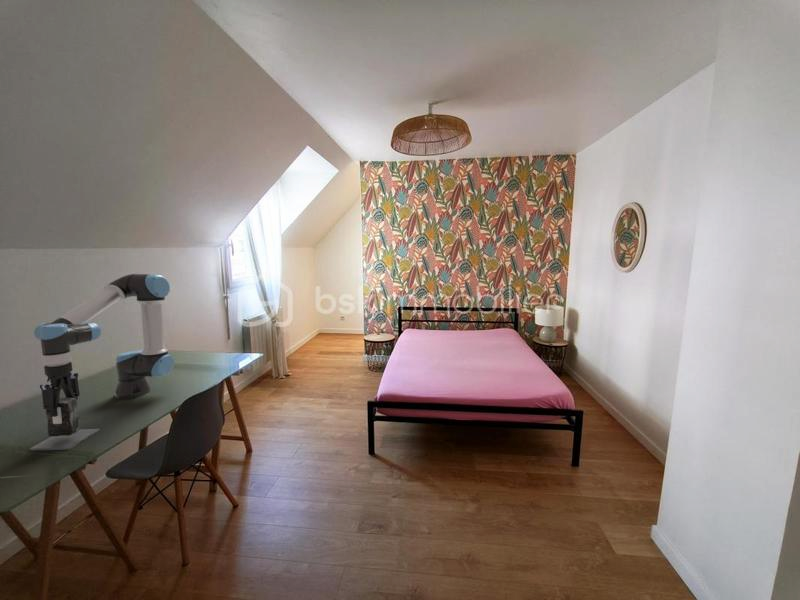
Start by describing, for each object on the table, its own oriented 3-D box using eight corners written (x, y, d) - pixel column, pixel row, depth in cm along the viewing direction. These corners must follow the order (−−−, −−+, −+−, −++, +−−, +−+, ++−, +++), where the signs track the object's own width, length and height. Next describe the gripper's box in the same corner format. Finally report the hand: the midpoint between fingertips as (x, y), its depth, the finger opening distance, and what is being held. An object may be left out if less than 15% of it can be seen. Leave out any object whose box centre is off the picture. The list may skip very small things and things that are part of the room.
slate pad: (64, 431, 139) (64, 429, 139) (99, 430, 140) (99, 428, 140) (30, 450, 125) (29, 448, 125) (69, 449, 126) (69, 447, 126)
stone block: (72, 436, 130) (83, 429, 135) (68, 402, 128) (80, 396, 133) (47, 437, 129) (60, 430, 134) (43, 402, 127) (56, 396, 132)
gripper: (69, 356, 137) (75, 409, 140) (22, 371, 119) (31, 431, 122) (88, 356, 138) (93, 409, 141) (45, 371, 120) (52, 431, 123)
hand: (64, 419), depth 131 cm, fingers closed on stone block, 5 cm apart
